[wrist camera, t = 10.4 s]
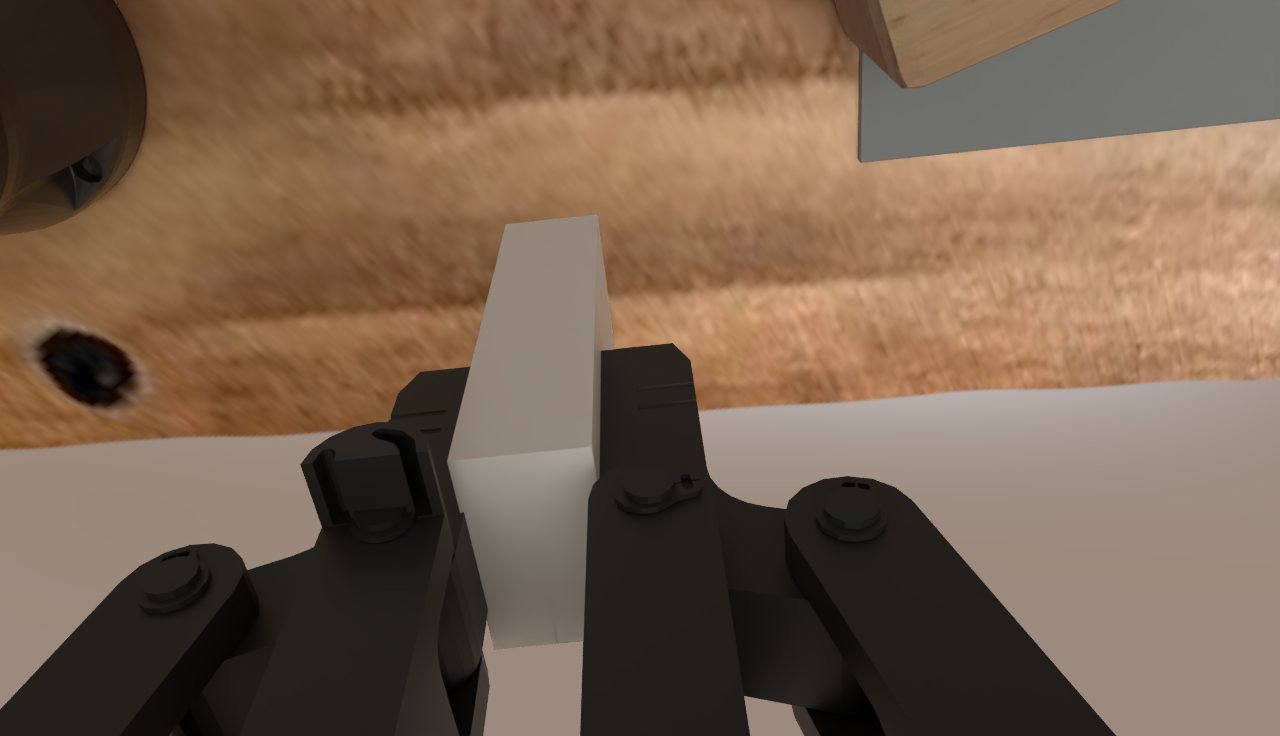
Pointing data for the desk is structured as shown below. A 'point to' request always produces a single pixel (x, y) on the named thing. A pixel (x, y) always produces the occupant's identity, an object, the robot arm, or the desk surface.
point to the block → (950, 31)
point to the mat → (1088, 82)
